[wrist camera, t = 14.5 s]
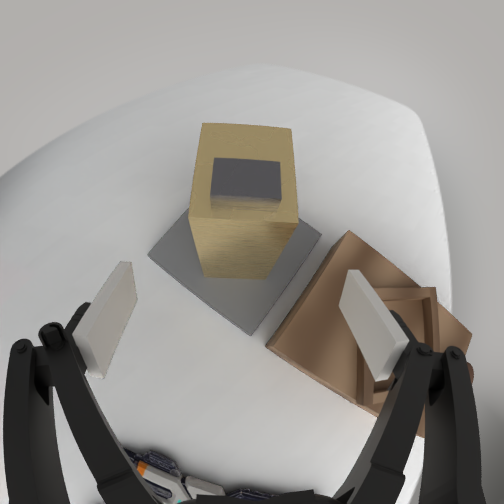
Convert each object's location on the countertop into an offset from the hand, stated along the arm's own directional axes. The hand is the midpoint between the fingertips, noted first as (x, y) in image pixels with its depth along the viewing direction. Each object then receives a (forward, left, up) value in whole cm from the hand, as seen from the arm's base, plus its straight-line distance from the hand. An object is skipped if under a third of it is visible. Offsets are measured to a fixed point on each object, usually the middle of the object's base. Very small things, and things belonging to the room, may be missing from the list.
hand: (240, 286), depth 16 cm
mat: (-3, +4, -7) cm, 9 cm away
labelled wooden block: (-3, +4, -6) cm, 8 cm away
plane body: (+13, +4, -7) cm, 15 cm away
